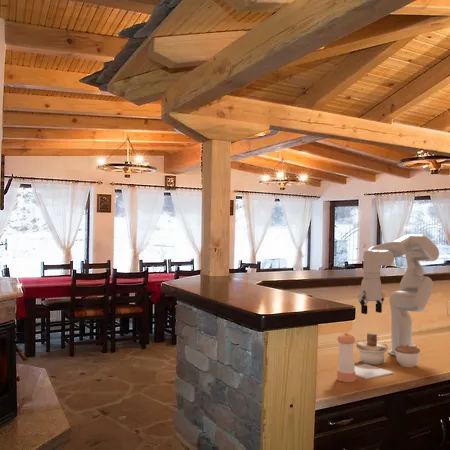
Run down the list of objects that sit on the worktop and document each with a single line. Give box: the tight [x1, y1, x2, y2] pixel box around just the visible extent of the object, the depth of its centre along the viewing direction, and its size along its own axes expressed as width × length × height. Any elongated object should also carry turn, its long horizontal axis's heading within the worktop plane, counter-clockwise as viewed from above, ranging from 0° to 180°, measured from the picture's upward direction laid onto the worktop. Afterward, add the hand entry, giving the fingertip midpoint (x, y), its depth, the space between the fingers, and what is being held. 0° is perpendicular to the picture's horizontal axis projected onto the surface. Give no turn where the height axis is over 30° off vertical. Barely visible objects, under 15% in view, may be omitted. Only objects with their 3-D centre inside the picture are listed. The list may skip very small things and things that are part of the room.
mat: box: [354, 363, 395, 380], centre depth 212 cm, size 17×16×1 cm
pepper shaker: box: [336, 332, 356, 383], centre depth 200 cm, size 7×7×19 cm
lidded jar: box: [395, 345, 421, 368], centre depth 223 cm, size 11×11×9 cm
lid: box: [356, 332, 389, 351], centre depth 228 cm, size 14×14×6 cm
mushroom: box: [357, 348, 387, 366], centre depth 228 cm, size 13×13×7 cm
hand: (371, 313), depth 228 cm, fingers open, 9 cm apart
